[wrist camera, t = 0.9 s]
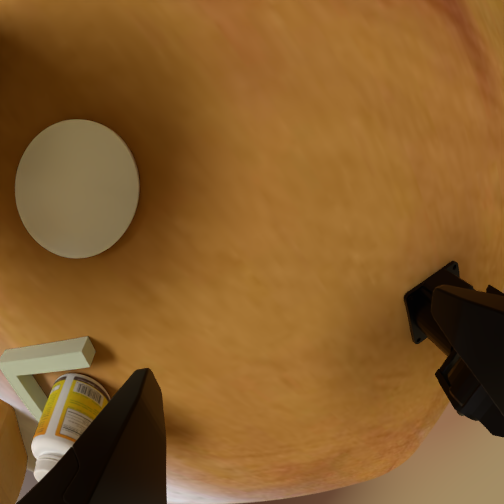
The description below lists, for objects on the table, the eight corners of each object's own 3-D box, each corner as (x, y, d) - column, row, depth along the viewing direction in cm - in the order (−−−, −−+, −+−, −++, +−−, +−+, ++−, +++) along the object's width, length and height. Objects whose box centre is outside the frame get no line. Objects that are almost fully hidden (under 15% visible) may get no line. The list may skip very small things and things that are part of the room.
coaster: (165, 211, 20) (164, 214, 19) (63, 276, 20) (59, 280, 19) (100, 92, 16) (96, 91, 16) (1, 171, 16) (-4, 172, 16)
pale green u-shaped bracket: (88, 336, 22) (81, 351, 20) (142, 429, 26) (140, 444, 24) (5, 349, 21) (-4, 362, 19) (64, 434, 25) (60, 448, 23)
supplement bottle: (65, 409, 24) (40, 494, 14) (48, 366, 22) (10, 456, 13) (118, 415, 25) (105, 507, 15) (106, 372, 23) (82, 472, 14)
